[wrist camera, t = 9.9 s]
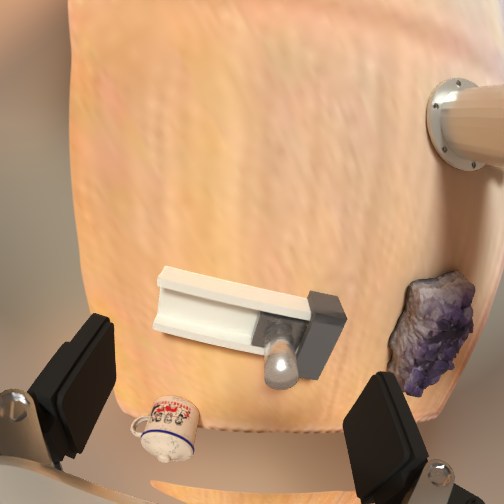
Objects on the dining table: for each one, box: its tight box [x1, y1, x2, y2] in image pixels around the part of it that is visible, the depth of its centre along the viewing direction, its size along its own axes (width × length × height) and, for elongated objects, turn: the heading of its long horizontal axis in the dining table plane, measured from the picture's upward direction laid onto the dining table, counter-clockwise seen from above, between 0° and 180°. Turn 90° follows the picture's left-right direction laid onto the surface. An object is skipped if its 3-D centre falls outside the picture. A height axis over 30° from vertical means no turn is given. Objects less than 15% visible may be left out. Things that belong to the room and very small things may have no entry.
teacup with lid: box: [131, 396, 199, 463], centre depth 45 cm, size 12×9×12 cm
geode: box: [388, 270, 475, 397], centre depth 38 cm, size 20×12×10 cm, turn 176°
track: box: [153, 266, 347, 380], centre depth 39 cm, size 24×10×6 cm, turn 76°
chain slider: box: [251, 310, 307, 390], centre depth 36 cm, size 10×5×10 cm, turn 76°
